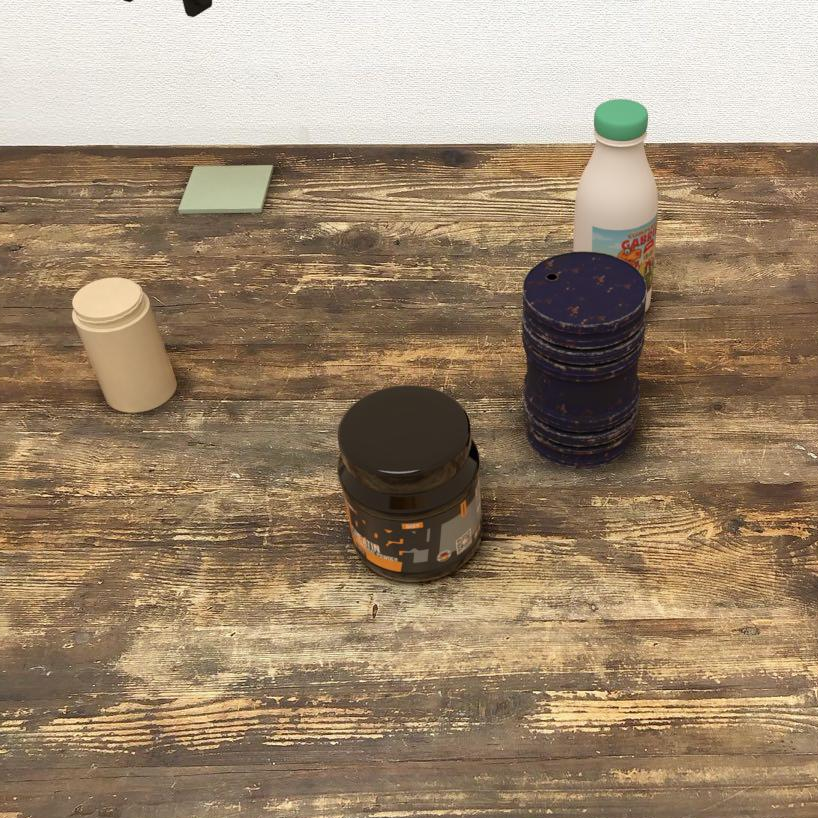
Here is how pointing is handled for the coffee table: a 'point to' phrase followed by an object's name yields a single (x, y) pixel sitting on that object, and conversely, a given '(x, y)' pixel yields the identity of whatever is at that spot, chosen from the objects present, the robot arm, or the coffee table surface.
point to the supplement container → (410, 482)
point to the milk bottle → (619, 191)
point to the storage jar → (582, 356)
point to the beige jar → (124, 344)
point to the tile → (226, 189)
